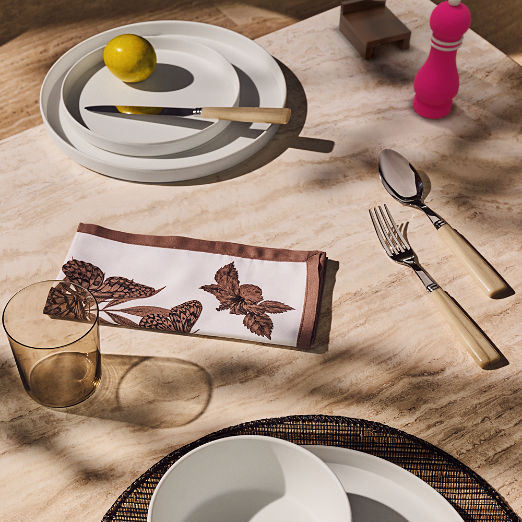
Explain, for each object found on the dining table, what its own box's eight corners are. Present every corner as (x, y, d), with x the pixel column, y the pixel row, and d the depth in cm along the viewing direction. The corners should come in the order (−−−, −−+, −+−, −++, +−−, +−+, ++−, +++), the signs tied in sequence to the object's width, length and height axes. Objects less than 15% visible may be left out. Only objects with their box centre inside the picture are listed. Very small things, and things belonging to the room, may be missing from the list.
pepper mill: (438, 126, 110) (464, 12, 95) (401, 108, 113) (420, -5, 98) (461, 106, 114) (490, -8, 98) (425, 89, 117) (447, -24, 102)
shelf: (380, 19, 132) (384, -8, 128) (408, 48, 125) (413, 21, 121) (338, 29, 130) (340, 2, 126) (364, 59, 123) (368, 31, 119)
